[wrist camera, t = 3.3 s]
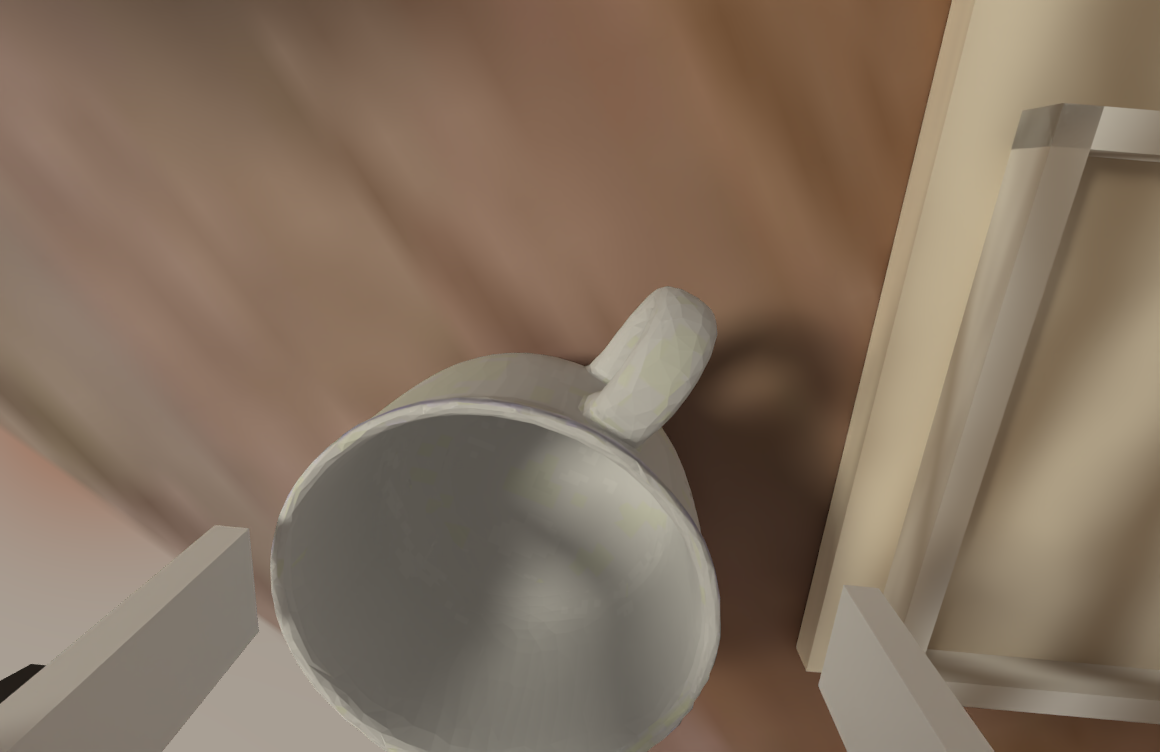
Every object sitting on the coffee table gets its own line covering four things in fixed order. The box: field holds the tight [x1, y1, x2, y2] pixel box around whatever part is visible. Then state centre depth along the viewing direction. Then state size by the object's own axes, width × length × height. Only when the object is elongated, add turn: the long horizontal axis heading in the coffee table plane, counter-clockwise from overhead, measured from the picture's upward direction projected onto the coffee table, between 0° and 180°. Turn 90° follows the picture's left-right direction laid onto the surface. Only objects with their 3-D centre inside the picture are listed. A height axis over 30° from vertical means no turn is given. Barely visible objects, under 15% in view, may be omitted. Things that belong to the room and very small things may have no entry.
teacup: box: [270, 286, 721, 752], centre depth 17 cm, size 14×11×8 cm
